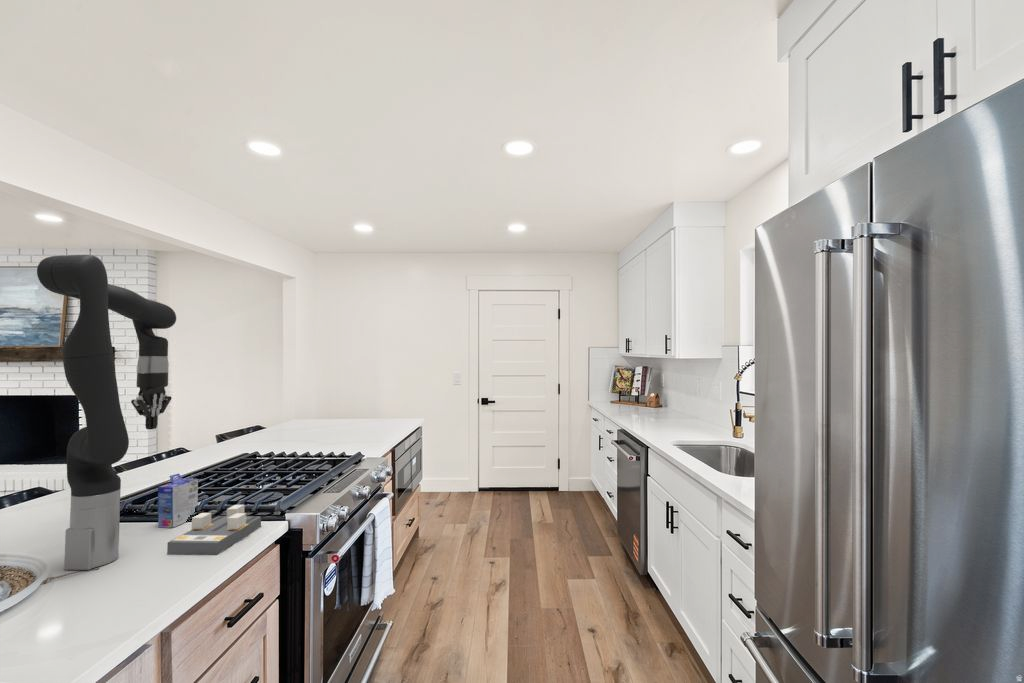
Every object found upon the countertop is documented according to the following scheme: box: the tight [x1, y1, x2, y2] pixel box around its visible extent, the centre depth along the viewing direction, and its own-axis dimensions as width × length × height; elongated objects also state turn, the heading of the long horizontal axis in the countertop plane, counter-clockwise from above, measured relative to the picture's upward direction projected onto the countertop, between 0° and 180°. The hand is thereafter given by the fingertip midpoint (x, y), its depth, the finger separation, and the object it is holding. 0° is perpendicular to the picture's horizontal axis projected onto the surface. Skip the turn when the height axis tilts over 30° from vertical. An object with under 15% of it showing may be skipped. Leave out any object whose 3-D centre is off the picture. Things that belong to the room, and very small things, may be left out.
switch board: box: [166, 515, 262, 556], centre depth 129 cm, size 20×14×3 cm
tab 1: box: [191, 512, 212, 529], centre depth 130 cm, size 4×3×3 cm
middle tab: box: [226, 504, 245, 519], centre depth 137 cm, size 4×3×3 cm
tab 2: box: [227, 512, 247, 529], centre depth 130 cm, size 4×3×3 cm
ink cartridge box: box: [157, 473, 199, 529], centre depth 143 cm, size 10×6×14 cm, turn 174°
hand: (151, 429), depth 140 cm, fingers closed
